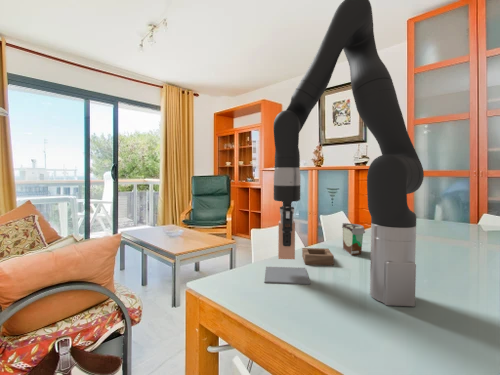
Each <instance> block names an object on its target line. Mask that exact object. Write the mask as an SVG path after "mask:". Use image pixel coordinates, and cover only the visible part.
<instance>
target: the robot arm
mask: <svg viewBox="0 0 500 375" xmlns="http://www.w3.org/2000/svg"><path fill="white" fill-rule="evenodd" d="M376 45H377V44H376V40H375V32H374V18H373V8H372V4H371V2H370V0H343V1H342V2H341V3H340V4H339V5H338V7H337V9H336V10H335V12H334V13H333V16H332V18H331V21H330V23H329V25H328V28H327V30H326V32H325V34H324V36H323V38H322V41H321V43H320V45H319V47H318V49H317V51H316V54H315V56H314V57H313V59H312V61H311V63H310V65H309V67H308V69H307V70H306V71H305V73H304V75H303V77H302V78H301V80H300V81H299V83H298V84H297V86H296V88H295V89H294V91H293V93H292V95H291V98H290V102H289V103H288V106H287V107H286V109H285V110H282V111H280V112H279V113H278V114H276V116H275V118H274V120H273V141H274V150H275V151H274V173H273V200H274V201H276V202H281V203H282V206H279V215H280V221H281V224H282V225H283V228H282V231H283V246H291V233H292V230H293V229H292V224H293V221H294V214H295V207H294V206H292V204H293V202H300V201H301V170H300V169H301V168H300V167H301V164H300V163H301V160H300V159H301V156H300V154H301V153H300V148H299V136H300V132H301V130H302V129H303V127H304V126H305V123H306V121H307V120H308V118H309V117H310V114H311V111H312V110H313V109H314V107H316V105H317V103H318V102H319V100H320V99H321V97H322V96H323V94H324V92H325V91H326V90H327V87H328V85H329V83H330V80H331V78H332V76H333V73H334V70H335V68H336V65H337V62H338V60H339V59H340V55H341V53H342V52H344V54H345V57H346V60H347V61H348V62H347V63H348V66H349V72H350V85H351V92H352V96H353V100H354V103H355V104H354V105H355V108H356V111H357V113H358V115H359V117H360V119H361V120H362V121H363V122H362V123H364V125H365V126H366V127H367V129H368V130H369V131H370V133H371V134H372V136H373V137H374V138H375V140H376V141H377V143H378V147H379V149H380V153H381V155H379V156H376V158H374V159H373V160H372V161H371V162H370V165H369V167H368V170H367V174H366V175H367V176H366V193H367V209H368V213H369V215H370V218H371V221H370V222H371V224H370V225H371V227H370V264H369V265H370V269H369V270H370V271H369V272H370V275H369V276H370V278H369V282H370V283H369V290H370V291H369V295H370V297H372V298H373V299H375V300H376V301H378V302H381V303H383V304H384V305H385V306H397V307H416V283H417V282H416V280H417V279H416V278H417V276H416V275H417V264H416V252H417V251H416V247H417V246H416V245H417V243H416V241H417V215H416V213H415V212H414V211H412V210H411V209H410V208H409V205H408V195H410V194H412V193H415V192H416V191H418V190H419V189H420V188H421V186H422V184H423V182H424V178H425V177H424V176H425V175H424V172H425V171H424V168H423V164H422V163H421V160H420V158H419V155H418V153H417V151H416V148H415V146H414V145H413V142H412V140H411V137H410V136H409V133H408V130H407V126H406V123H405V120H404V116H403V112H402V110H401V106H400V104H399V99H398V96H397V92H396V89H395V86H394V82H393V79H392V76H391V74H390V72H389V70H388V67H387V66H386V65H385V63H384V62H383V61H382V59H381V58H380V55H379V53H378V49H377V46H376ZM285 224H289V225H290V227H285Z"/></svg>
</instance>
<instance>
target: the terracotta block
mask: <svg viewBox="0 0 500 375" xmlns="http://www.w3.org/2000/svg"><path fill="white" fill-rule="evenodd" d="M285 227H290V225H289V224H285ZM282 228H283V225H282V224H281V220H278V236H277V238H278V246H277V247H278V250H277V251H278V253H277V254H278V256H277V258H278V260H295V258H296V222H295V221H294V220H293V224H292V229H293V230H292V233H291V246H283V231H282Z"/></svg>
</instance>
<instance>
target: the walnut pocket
mask: <svg viewBox="0 0 500 375" xmlns="http://www.w3.org/2000/svg"><path fill="white" fill-rule="evenodd" d="M301 251H302V253H301V254H302V255H301V257H302V260H303V262H304V265H308V266H309V265H310V266H311V265H314V266H335V265H334V260H335V257H334V256H335V255H334V254H333V253H332V252H331V251H330V249H329V248H319V247H318V248H316V247H314V248H313V247H302V248H301Z"/></svg>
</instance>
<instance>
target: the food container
mask: <svg viewBox="0 0 500 375" xmlns="http://www.w3.org/2000/svg"><path fill="white" fill-rule="evenodd" d="M341 228H342V249H343V251H345V252H347V253H348V254H349V255H350V256H354V257H355V256H360V255H361V254H362V249H363V248H362V247H363V238H364V234H365V233H366V230H365V227H364V225H361V224H357V223H348V222H345V223H344V222H343V223H342V225H341Z"/></svg>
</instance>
